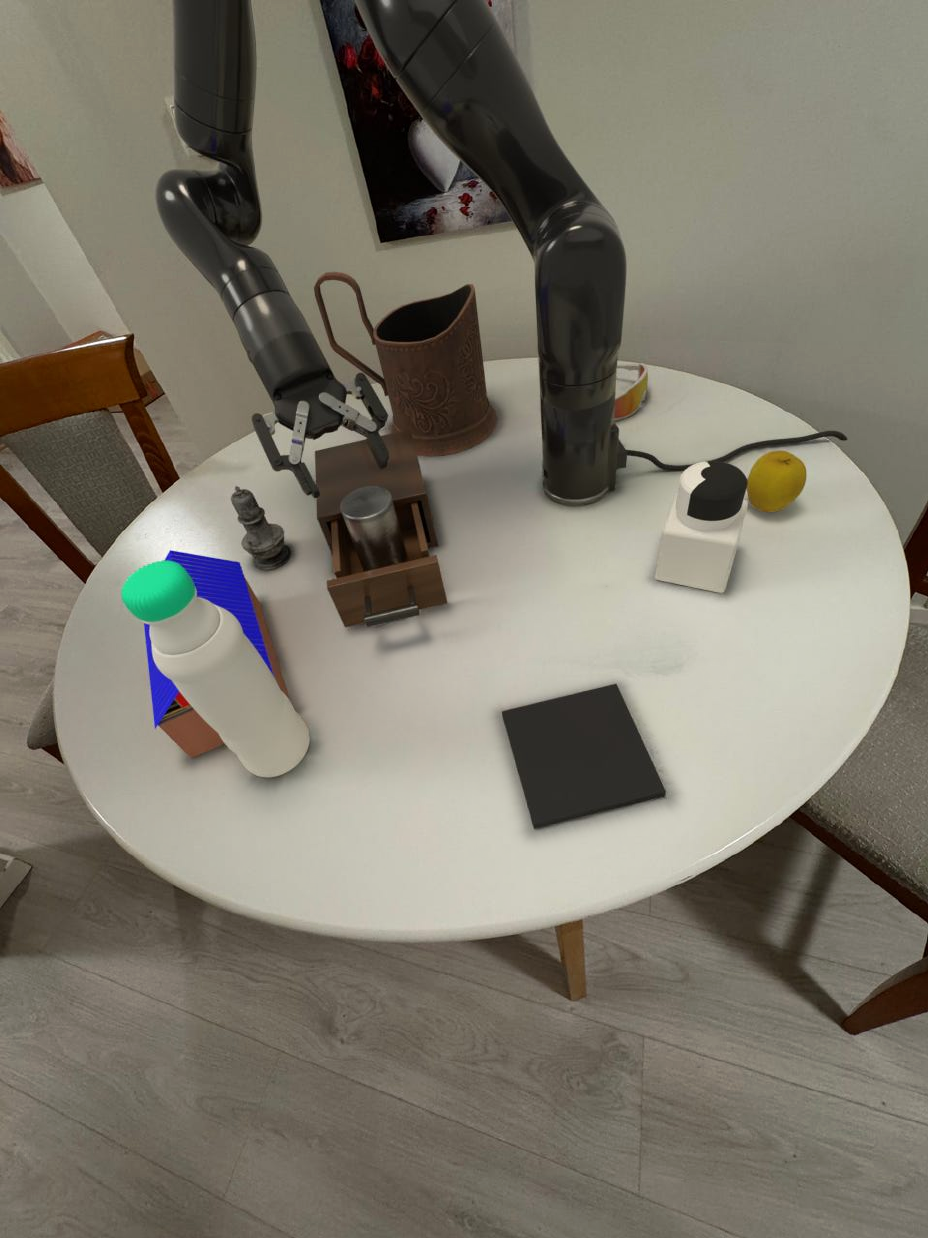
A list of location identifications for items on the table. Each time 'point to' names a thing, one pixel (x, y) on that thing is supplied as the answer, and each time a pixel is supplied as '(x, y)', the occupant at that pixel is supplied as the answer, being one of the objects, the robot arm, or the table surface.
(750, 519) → the table surface
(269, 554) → the stone chess piece
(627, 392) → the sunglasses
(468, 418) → the brown embossed pitcher
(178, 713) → the house
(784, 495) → the apple
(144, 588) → the water bottle
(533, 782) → the coaster mat
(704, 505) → the container
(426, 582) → the drawer
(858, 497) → the table surface
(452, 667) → the table surface
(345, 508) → the metal canister
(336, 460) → the cabinet
